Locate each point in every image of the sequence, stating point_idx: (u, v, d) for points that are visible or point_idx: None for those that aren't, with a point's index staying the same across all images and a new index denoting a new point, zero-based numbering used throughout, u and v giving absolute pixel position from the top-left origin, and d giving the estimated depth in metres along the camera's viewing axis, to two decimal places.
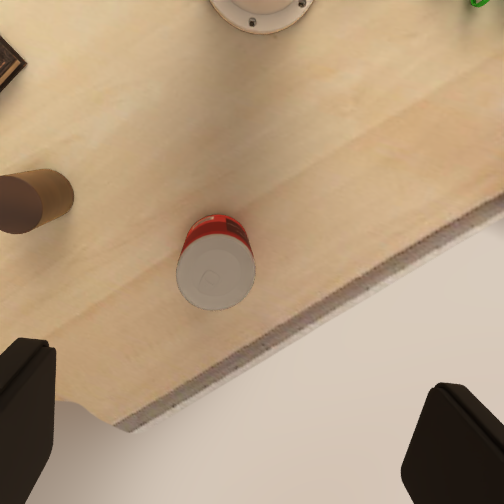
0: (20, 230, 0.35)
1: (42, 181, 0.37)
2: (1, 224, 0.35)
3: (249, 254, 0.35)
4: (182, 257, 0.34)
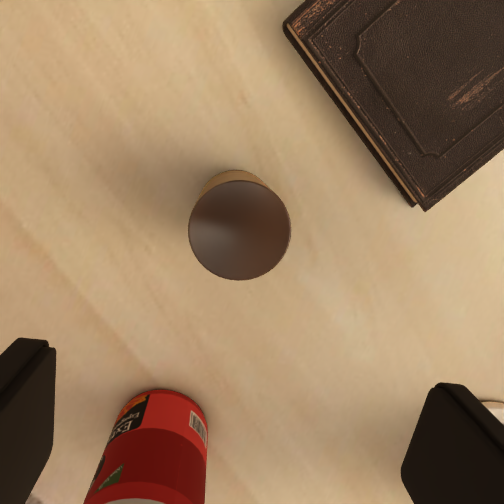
0: (195, 240, 0.20)
1: None
2: (205, 210, 0.19)
3: None
4: None
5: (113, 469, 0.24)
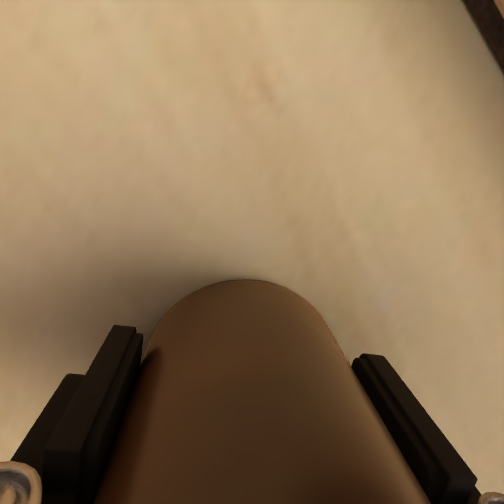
0: None
1: None
2: None
3: None
4: None
5: None
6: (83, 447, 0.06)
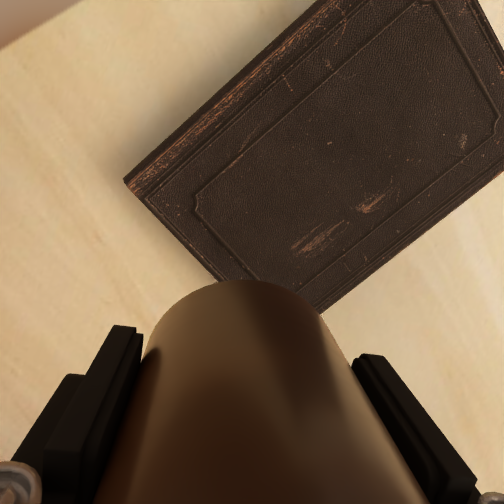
0: None
1: None
2: None
3: None
4: None
5: None
6: (83, 447, 0.06)
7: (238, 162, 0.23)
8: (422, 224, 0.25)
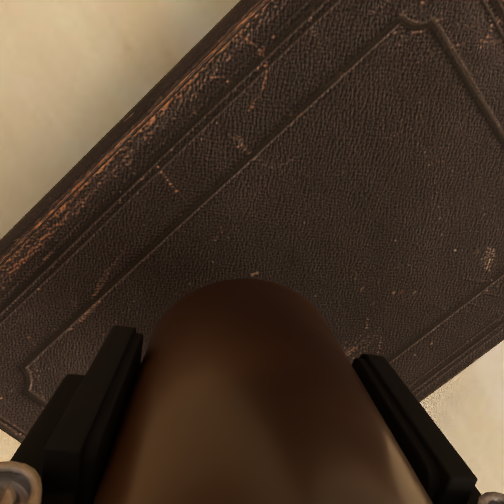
0: None
1: None
2: None
3: None
4: None
5: None
6: (83, 447, 0.06)
7: (94, 313, 0.13)
8: (422, 386, 0.15)
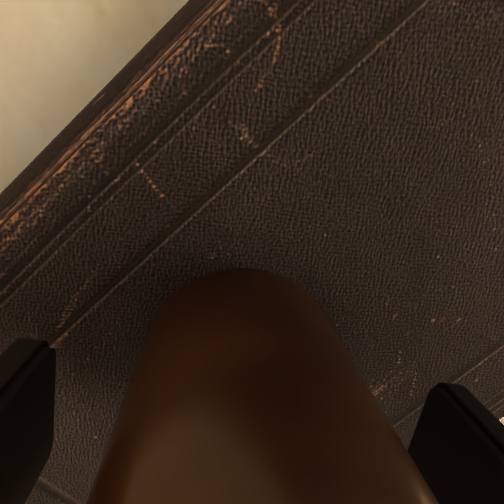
0: None
1: None
2: None
3: None
4: None
5: None
6: None
7: (60, 348, 0.10)
8: None
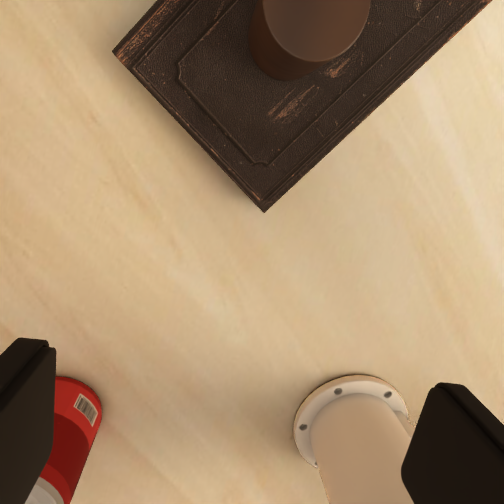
0: (269, 9, 0.18)
1: None
2: None
3: None
4: None
5: None
6: None
7: (214, 29, 0.25)
8: (386, 87, 0.28)
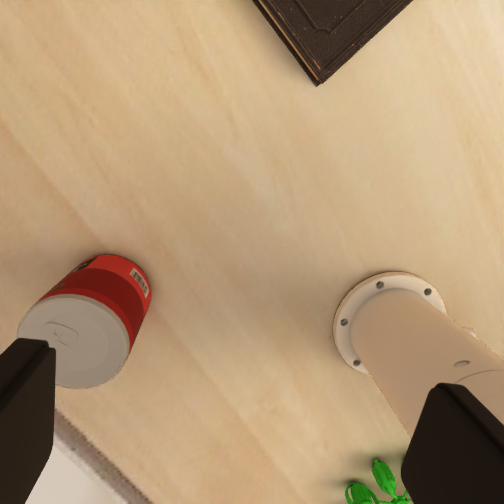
0: None
1: None
2: None
3: (105, 381, 0.28)
4: (93, 306, 0.26)
5: (57, 286, 0.29)
6: None
7: None
8: None
